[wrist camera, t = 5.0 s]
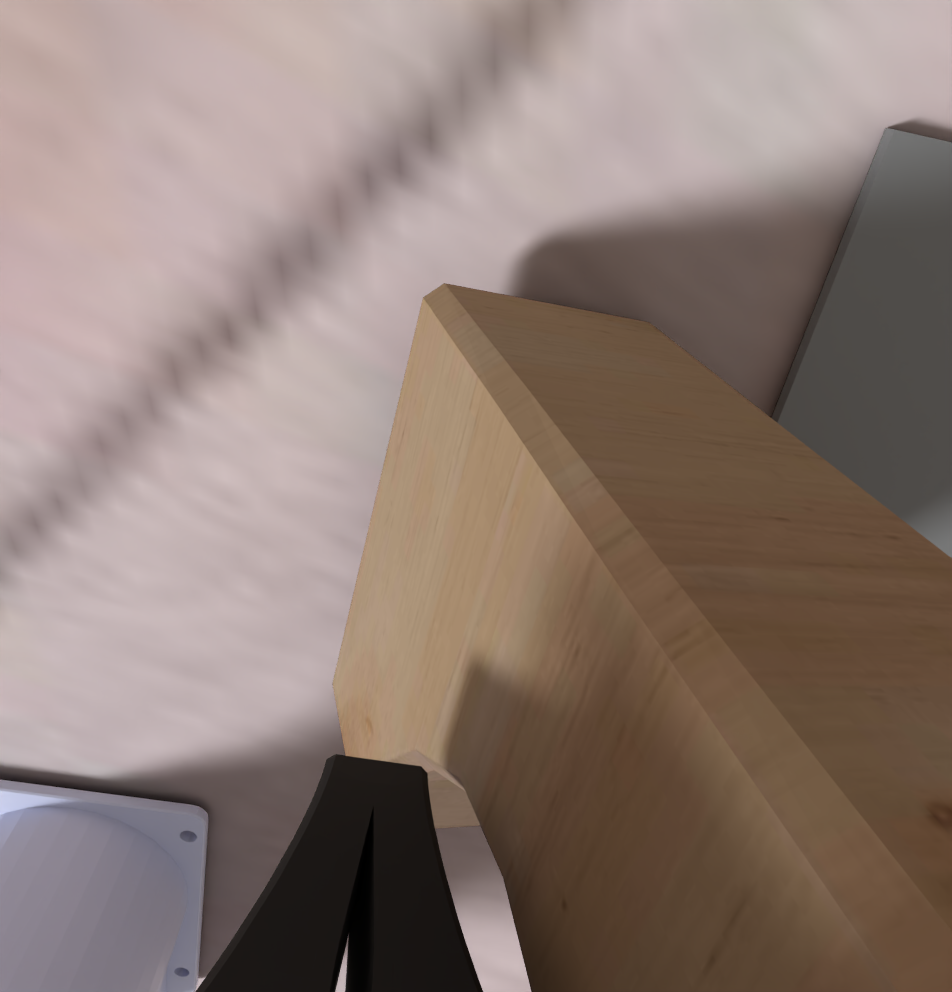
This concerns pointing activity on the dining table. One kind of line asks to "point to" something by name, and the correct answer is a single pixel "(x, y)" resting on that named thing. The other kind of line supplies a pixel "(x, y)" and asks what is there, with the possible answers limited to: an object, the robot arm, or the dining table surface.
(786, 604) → the decorative block
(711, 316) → the dining table surface
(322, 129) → the dining table surface
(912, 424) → the grey flat plate
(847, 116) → the dining table surface
